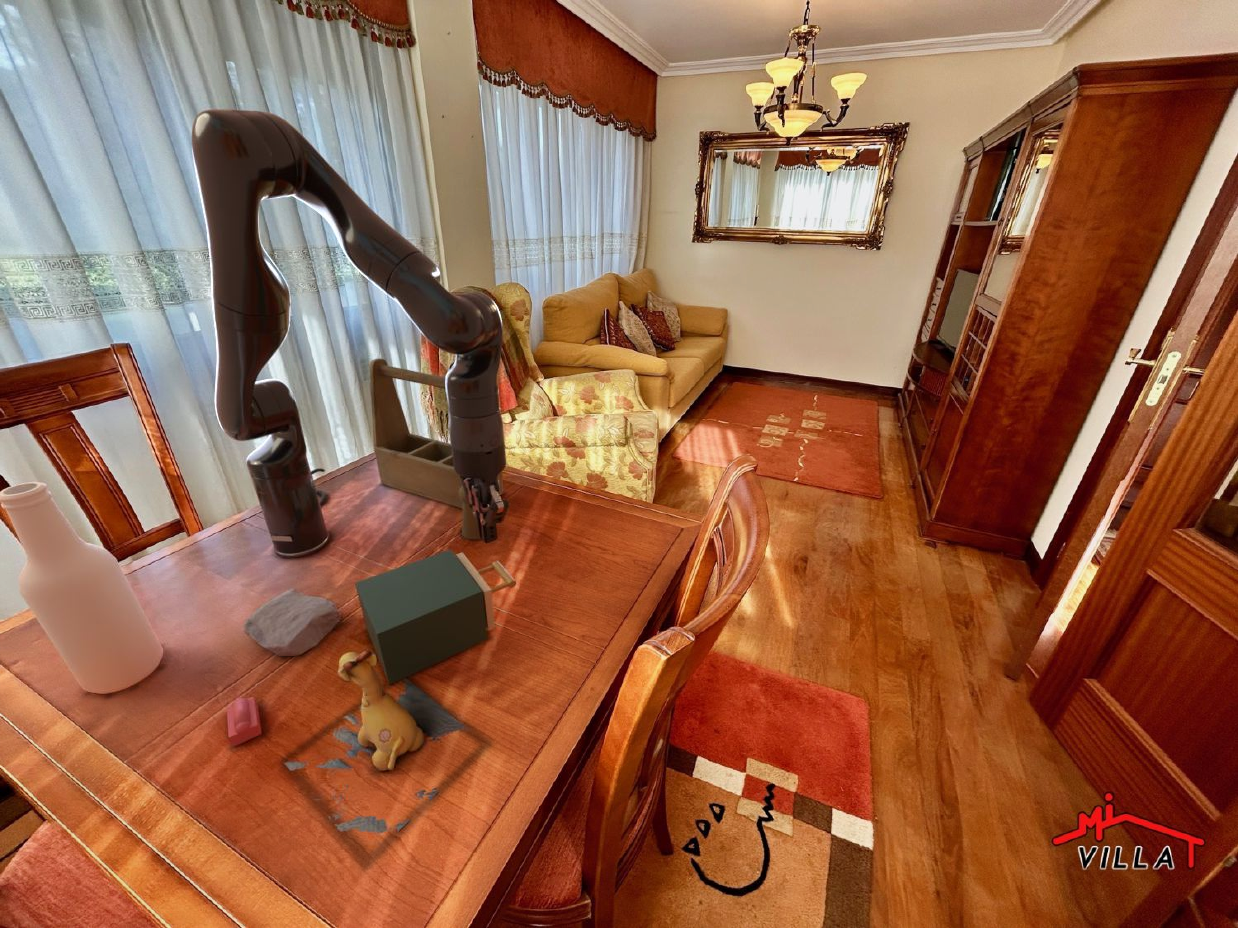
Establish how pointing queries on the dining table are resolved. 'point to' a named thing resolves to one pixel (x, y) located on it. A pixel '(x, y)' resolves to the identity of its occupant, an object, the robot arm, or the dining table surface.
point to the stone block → (292, 623)
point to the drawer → (484, 587)
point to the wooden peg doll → (468, 518)
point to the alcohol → (80, 596)
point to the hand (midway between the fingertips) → (488, 538)
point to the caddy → (410, 441)
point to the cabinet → (422, 614)
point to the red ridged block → (243, 720)
